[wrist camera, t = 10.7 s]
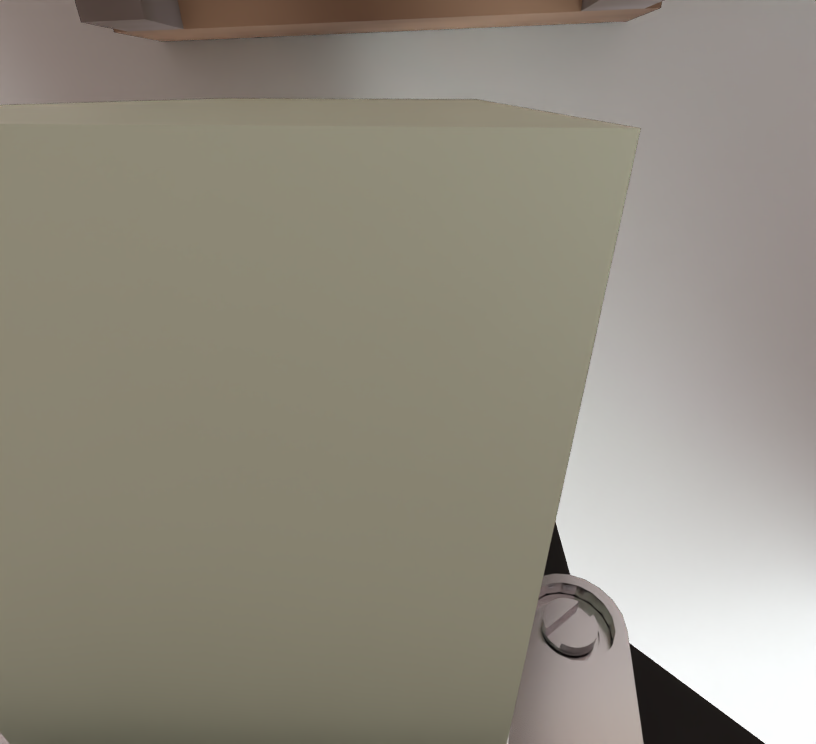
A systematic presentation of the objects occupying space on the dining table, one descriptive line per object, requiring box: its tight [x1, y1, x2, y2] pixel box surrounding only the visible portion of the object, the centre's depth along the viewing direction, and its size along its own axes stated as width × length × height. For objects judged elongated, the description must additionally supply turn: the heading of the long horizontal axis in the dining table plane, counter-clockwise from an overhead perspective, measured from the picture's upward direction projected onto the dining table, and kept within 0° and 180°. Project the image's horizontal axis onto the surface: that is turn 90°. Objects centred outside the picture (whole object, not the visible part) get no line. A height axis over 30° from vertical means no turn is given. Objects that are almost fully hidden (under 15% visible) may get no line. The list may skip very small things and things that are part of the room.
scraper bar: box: [0, 98, 641, 744], centre depth 8 cm, size 4×13×7 cm, turn 0°
